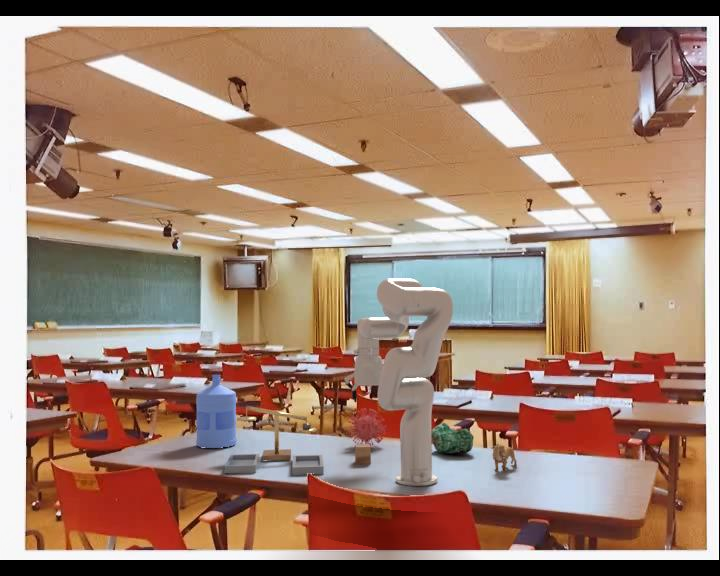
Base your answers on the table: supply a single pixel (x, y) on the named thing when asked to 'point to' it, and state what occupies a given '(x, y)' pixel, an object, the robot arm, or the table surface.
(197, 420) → the water jug
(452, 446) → the mineral
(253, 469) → the dish high side
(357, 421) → the virus model
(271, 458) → the balance
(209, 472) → the table surface
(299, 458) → the dish low side
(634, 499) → the table surface
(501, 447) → the lion figurine
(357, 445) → the walnut block
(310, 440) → the table surface
